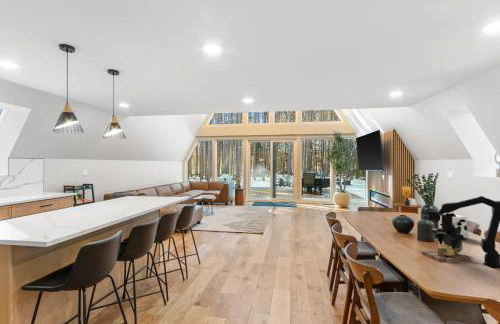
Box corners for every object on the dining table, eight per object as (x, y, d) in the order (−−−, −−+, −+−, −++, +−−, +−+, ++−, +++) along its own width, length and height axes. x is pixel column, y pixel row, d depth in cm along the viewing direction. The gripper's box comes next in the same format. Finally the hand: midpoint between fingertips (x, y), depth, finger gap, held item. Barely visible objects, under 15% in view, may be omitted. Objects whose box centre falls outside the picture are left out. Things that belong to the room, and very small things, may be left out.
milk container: (459, 235, 227) (459, 214, 227) (473, 240, 210) (473, 218, 210) (438, 234, 230) (437, 213, 230) (450, 239, 213) (450, 217, 213)
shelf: (466, 259, 167) (466, 249, 168) (438, 261, 165) (438, 250, 165) (447, 252, 181) (447, 242, 181) (421, 253, 179) (421, 243, 179)
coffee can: (462, 239, 182) (461, 232, 173) (463, 254, 178) (462, 248, 168) (443, 237, 188) (442, 230, 179) (444, 251, 184) (442, 245, 175)
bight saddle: (454, 255, 167) (454, 247, 167) (448, 255, 167) (448, 248, 167) (446, 252, 173) (446, 245, 173) (441, 252, 172) (441, 245, 172)
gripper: (471, 225, 162) (471, 251, 162) (445, 219, 180) (445, 242, 180) (455, 226, 161) (455, 251, 160) (431, 219, 179) (431, 242, 179)
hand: (447, 246), depth 170 cm, fingers open, 9 cm apart
